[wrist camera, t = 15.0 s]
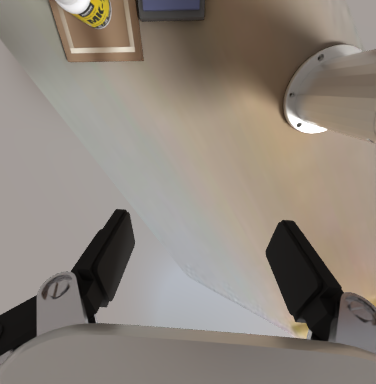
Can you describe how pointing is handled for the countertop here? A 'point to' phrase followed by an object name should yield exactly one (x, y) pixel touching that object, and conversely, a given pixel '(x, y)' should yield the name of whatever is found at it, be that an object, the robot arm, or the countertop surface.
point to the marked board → (101, 35)
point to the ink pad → (171, 10)
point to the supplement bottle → (89, 11)
